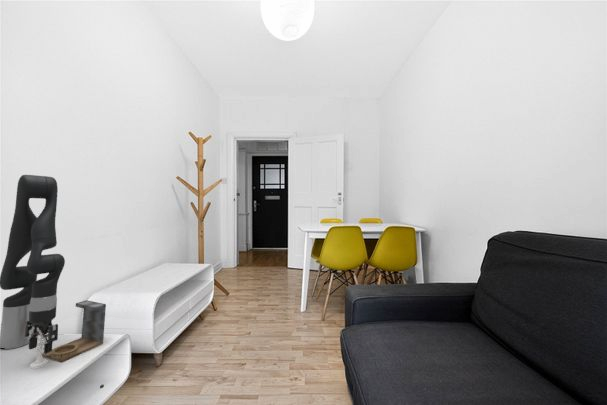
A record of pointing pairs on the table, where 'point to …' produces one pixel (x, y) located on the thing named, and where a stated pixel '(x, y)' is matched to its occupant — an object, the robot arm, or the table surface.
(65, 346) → the base
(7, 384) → the table surface
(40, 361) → the chess piece
